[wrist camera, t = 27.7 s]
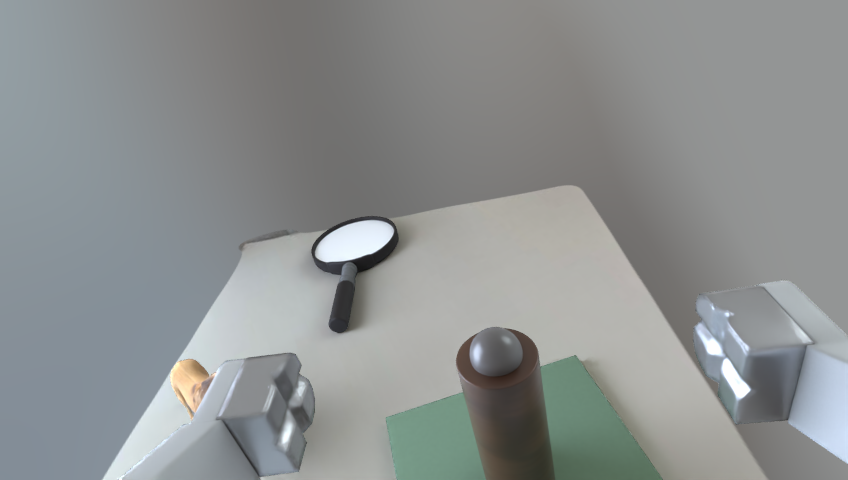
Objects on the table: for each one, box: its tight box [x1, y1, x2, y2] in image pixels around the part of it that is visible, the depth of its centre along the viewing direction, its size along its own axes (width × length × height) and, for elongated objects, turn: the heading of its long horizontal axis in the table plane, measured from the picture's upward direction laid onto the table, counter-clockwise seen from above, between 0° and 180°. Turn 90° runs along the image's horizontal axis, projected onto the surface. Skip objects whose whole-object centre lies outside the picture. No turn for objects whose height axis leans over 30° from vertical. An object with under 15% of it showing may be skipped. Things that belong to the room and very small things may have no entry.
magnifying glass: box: [312, 216, 398, 332], centre depth 65 cm, size 12×24×2 cm, turn 0°
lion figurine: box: [170, 359, 217, 421], centre depth 46 cm, size 15×5×9 cm, turn 59°
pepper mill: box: [456, 327, 555, 480], centre depth 32 cm, size 5×5×14 cm
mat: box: [386, 355, 663, 480], centre depth 36 cm, size 18×18×1 cm
